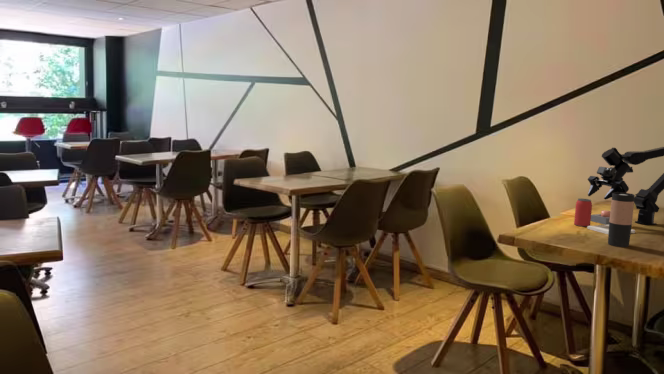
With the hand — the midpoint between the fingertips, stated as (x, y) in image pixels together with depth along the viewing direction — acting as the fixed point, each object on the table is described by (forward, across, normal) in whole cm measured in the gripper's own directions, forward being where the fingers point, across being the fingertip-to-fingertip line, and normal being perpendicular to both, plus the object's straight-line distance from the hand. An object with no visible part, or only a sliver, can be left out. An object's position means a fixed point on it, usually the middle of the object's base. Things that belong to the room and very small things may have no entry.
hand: (596, 197), depth 231 cm
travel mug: (+24, +32, -6) cm, 40 cm away
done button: (+1, -3, +15) cm, 15 cm away
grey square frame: (+2, -3, +16) cm, 17 cm away
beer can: (+14, 0, +4) cm, 15 cm away
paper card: (+11, +12, +7) cm, 18 cm away
